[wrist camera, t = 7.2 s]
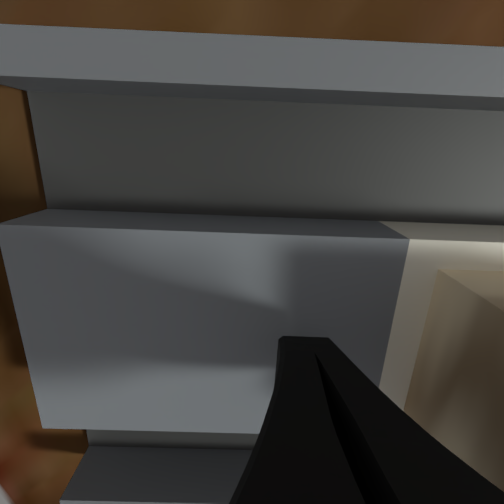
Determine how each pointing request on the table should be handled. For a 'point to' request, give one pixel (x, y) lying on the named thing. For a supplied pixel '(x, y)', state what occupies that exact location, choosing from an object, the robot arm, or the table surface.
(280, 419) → the robot arm
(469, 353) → the maple block
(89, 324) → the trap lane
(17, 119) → the table surface
